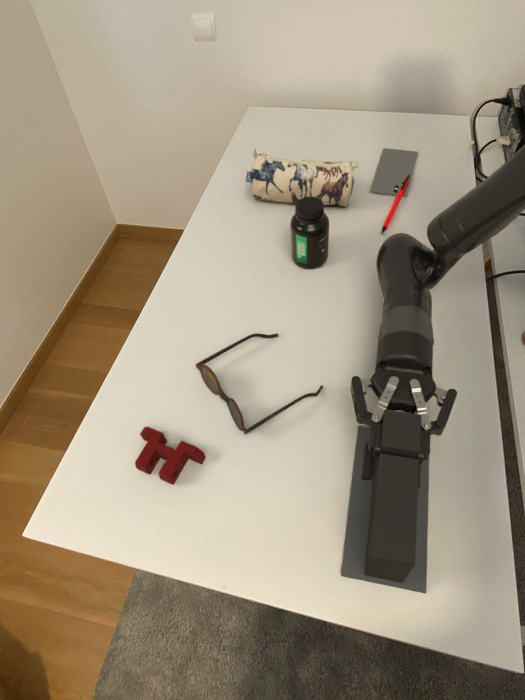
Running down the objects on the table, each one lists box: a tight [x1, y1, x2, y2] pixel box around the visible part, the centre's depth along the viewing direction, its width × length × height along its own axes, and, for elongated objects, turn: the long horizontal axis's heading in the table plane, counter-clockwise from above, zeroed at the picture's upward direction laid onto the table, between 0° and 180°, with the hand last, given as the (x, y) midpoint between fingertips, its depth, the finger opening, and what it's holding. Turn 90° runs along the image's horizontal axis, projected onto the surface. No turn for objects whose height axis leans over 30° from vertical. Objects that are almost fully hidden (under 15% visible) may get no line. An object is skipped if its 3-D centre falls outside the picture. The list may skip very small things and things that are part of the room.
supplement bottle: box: [289, 196, 330, 270], centre depth 89 cm, size 7×7×12 cm
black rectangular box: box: [374, 410, 422, 475], centre depth 64 cm, size 4×5×9 cm
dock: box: [340, 425, 430, 594], centre depth 62 cm, size 10×20×10 cm, turn 168°
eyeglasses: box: [195, 333, 324, 436], centre depth 76 cm, size 15×15×5 cm
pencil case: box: [245, 148, 359, 208], centre depth 101 cm, size 22×8×10 cm, turn 77°
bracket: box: [134, 426, 207, 486], centre depth 71 cm, size 3×6×10 cm
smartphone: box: [369, 147, 419, 198], centre depth 107 cm, size 8×1×16 cm
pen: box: [381, 175, 410, 235], centre depth 100 cm, size 1×19×1 cm, turn 155°
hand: (397, 457), depth 61 cm, fingers closed on black rectangular box, 4 cm apart
